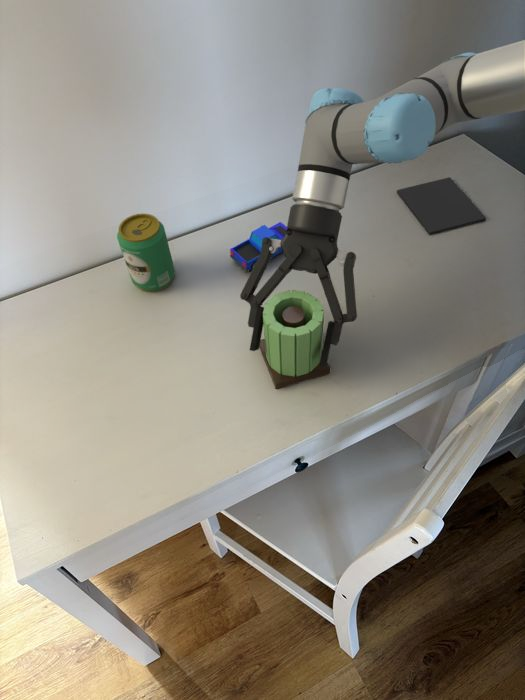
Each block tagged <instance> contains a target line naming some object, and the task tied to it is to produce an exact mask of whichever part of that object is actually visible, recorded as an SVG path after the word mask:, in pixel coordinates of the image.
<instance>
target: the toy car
mask: <svg viewBox="0 0 525 700" xmlns="http://www.w3.org/2000/svg"><path fill="white" fill-rule="evenodd" d="M286 230H287V225H285V224H284V223H283V222H281V221H279V222H277V223H276V224H274V225H272V226H270V227H268V226H267V225H265V224H264V225H261V226H260V227H258V228H256V229H254V230H252V231H251V233H250V236H249V238H247V239H245V240H244V241H242V242H240V243H238V244H236V245H235V246H233V247H231V248H230V249H229V253H230V254H229V257H230V258H231V259H232V260H233V262H235V263H236V264H237V265H238V266H239V267H240V268H242V269H243V270H244V271H245V272H246V273H248V272H250V271H252V270H253V267H254V265H255V263H256V261H257V259H258V257H259V255H260V253H261V247H262V240H263V238H265V237H268V238H271V239H277V240H282V239H283V237H284V236H285V234H286ZM280 253H283V251H282V249H281V247H280V248H278V249H277V252H276V253H272V257H271V259H272V258H273V257H275V256H277V255H278V254H280Z"/></svg>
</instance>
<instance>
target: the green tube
mask: <svg viewBox="0 0 525 700" xmlns="http://www.w3.org/2000/svg"><path fill="white" fill-rule="evenodd" d="M292 306H295V307H299V308H301V309H302V310H303V311H304V315H305V316H304V326H301V327H297V328H291V327H284V326H283V322H282V313H283V311H284V310H285V309H286V308H288V307H292ZM263 307H264V311H263V334H264V335H263V337H264V339H265V351H266V358H267V360H268V363H269V365H270V366H271V368H273V369H274V370H275V371H277V372H278V373H280V374H281V373H282V375H287V376H294V377H295V374H296V376H300V375H304V374H307V373H309V371H310V372H311V371H312V370H313V369H314V368H315V367H316V366H317V365H318V364H319V362H320V358H321V353H322V350H323V339H324V338H323V336H324V321H325V309H324V307H323V305H322V303H321V301H320V300H319V299H318V297H316V296H314V295H312V294H311V293H309V292H308V291H307V292H306V291H304V290H297V289H296V290H295V289H291V290H289V289H288V290H285V291H282V292H278V293H277V294H276V293H275V294H274V295H272V297H270V298H269V299H268V300H267V301H266V303H264V306H263Z"/></svg>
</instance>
